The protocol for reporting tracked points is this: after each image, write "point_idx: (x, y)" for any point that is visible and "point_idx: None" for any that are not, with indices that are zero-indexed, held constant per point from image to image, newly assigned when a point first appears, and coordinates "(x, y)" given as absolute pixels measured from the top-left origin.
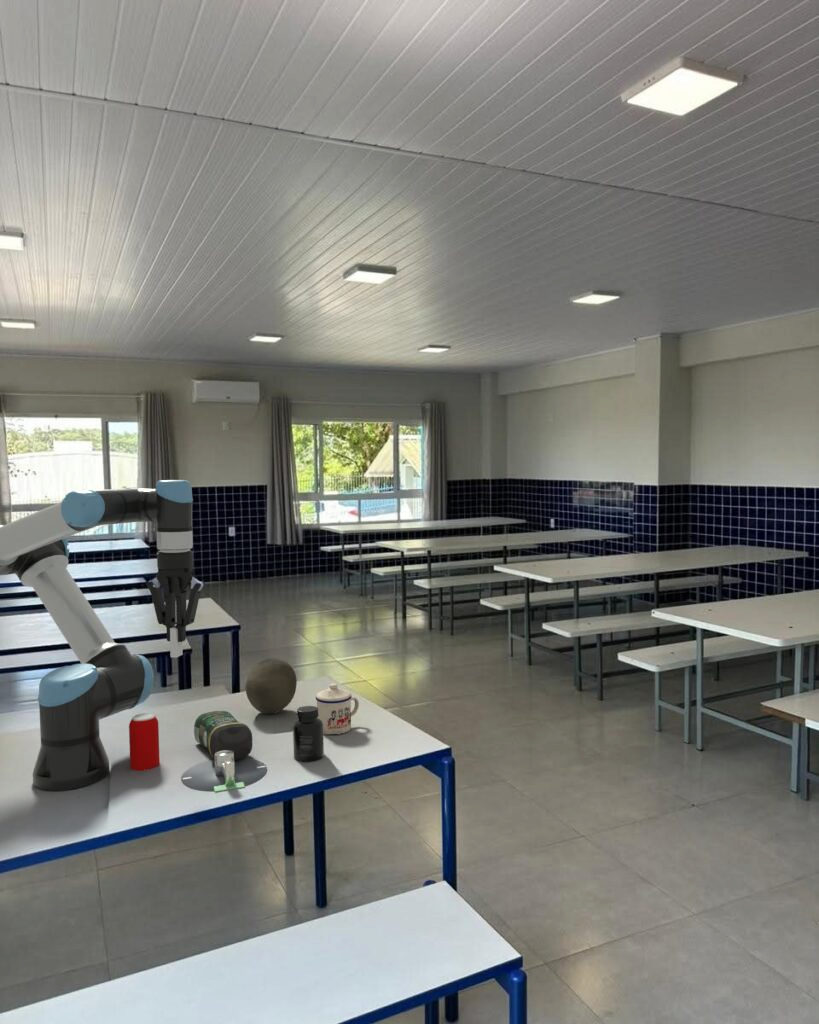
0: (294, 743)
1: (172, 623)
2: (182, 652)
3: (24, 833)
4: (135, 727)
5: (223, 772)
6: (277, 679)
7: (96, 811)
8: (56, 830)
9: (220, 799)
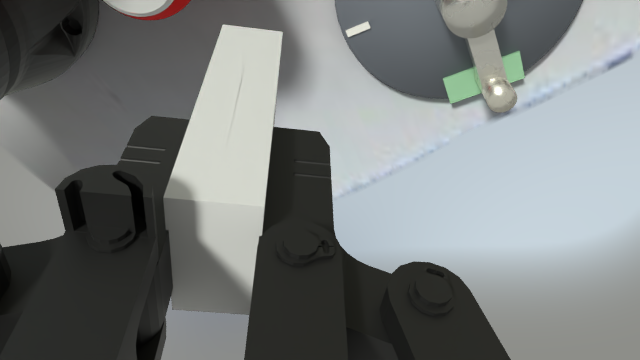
0: None
1: (157, 308)
2: (281, 40)
3: None
4: (140, 19)
5: (471, 57)
6: None
7: None
8: None
9: (462, 107)
